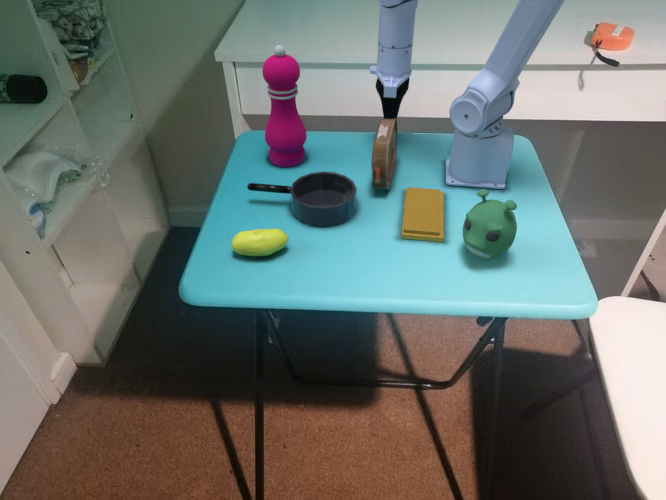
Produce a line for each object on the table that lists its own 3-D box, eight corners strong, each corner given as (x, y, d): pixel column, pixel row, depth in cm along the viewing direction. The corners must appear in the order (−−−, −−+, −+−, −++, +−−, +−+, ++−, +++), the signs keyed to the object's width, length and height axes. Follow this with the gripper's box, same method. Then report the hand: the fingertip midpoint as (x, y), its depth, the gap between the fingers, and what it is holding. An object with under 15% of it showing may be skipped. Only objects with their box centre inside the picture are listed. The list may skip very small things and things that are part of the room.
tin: (387, 200, 86) (390, 154, 81) (367, 198, 86) (369, 152, 81) (397, 153, 97) (401, 110, 92) (380, 151, 98) (382, 108, 92)
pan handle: (293, 191, 84) (293, 184, 83) (291, 195, 83) (291, 189, 83) (248, 187, 85) (248, 181, 84) (246, 191, 84) (245, 185, 83)
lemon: (233, 244, 78) (230, 222, 75) (289, 241, 78) (287, 219, 76) (231, 263, 75) (228, 241, 72) (289, 260, 75) (287, 238, 72)
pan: (359, 192, 88) (359, 174, 85) (351, 229, 80) (351, 210, 78) (299, 187, 89) (298, 169, 87) (285, 223, 81) (284, 204, 79)
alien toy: (445, 256, 75) (455, 197, 69) (476, 231, 80) (488, 174, 73) (489, 280, 72) (503, 220, 65) (519, 253, 76) (535, 194, 69)
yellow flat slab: (442, 195, 87) (443, 188, 86) (442, 242, 78) (444, 234, 77) (405, 192, 88) (406, 185, 87) (401, 238, 78) (402, 230, 78)
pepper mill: (315, 154, 97) (311, 42, 84) (292, 172, 92) (285, 57, 80) (282, 144, 100) (274, 34, 87) (258, 161, 95) (246, 48, 82)
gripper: (375, 27, 95) (372, 100, 103) (366, 57, 84) (363, 136, 92) (415, 29, 94) (409, 102, 102) (412, 60, 83) (405, 139, 92)
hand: (390, 118), depth 97 cm, fingers closed
